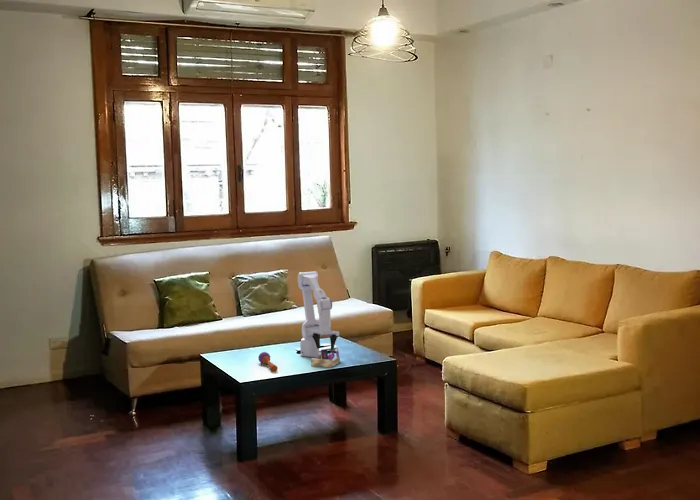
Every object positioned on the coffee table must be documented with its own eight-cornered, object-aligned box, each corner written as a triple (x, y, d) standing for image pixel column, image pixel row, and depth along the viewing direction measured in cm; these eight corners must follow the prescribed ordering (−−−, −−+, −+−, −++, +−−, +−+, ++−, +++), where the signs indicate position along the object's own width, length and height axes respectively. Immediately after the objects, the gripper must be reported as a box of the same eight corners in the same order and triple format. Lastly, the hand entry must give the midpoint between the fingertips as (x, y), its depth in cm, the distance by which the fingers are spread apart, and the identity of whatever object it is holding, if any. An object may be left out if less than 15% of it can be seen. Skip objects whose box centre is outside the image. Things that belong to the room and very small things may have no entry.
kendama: (267, 364, 371) (256, 352, 389) (269, 376, 372) (258, 363, 390) (278, 361, 373) (267, 349, 391) (281, 372, 374) (269, 359, 392)
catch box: (311, 365, 382) (310, 358, 382) (319, 359, 393) (319, 353, 392) (331, 367, 378) (331, 360, 378) (339, 361, 389) (339, 354, 388)
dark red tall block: (321, 349, 388) (338, 347, 390) (318, 350, 392) (335, 349, 395) (323, 362, 386) (339, 361, 389) (320, 363, 391) (337, 362, 394)
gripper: (308, 323, 382) (308, 349, 384) (335, 324, 377) (335, 351, 379) (313, 320, 388) (314, 346, 390) (340, 322, 383) (340, 348, 385)
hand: (325, 348), depth 385 cm, fingers open, 7 cm apart
